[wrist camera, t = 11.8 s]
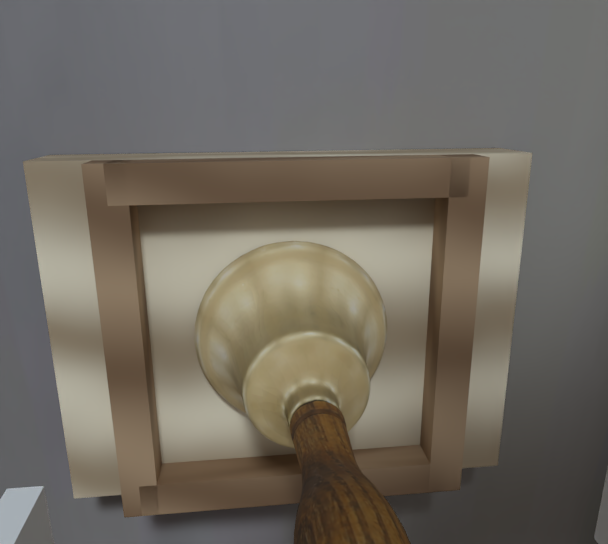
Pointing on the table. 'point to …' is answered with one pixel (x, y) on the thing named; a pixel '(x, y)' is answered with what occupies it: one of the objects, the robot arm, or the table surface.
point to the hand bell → (303, 374)
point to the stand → (231, 245)
